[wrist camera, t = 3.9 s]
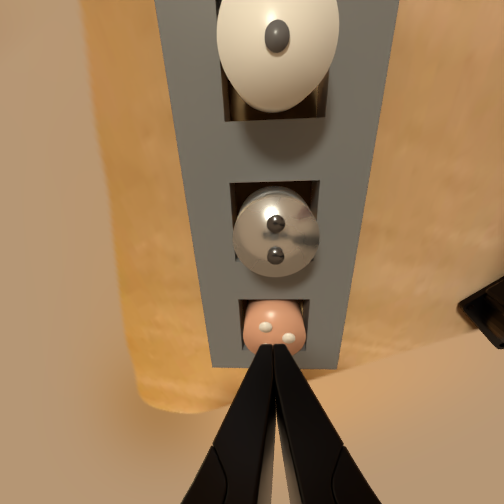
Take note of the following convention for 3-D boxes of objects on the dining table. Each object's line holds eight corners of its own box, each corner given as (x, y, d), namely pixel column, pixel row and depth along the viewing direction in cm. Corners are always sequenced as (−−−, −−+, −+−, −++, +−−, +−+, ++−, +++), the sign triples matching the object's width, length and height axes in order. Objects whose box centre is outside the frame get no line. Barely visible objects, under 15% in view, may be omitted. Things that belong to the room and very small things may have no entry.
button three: (244, 288, 19) (241, 313, 16) (302, 288, 18) (308, 314, 16) (247, 331, 21) (244, 360, 18) (299, 331, 20) (304, 361, 18)
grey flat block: (164, -42, 11) (141, -83, 9) (387, -61, 11) (417, -110, 9) (217, 344, 22) (212, 367, 20) (329, 345, 22) (336, 369, 20)
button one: (223, -2, 10) (209, -48, 8) (326, -10, 10) (348, -60, 8) (230, 115, 12) (221, 109, 10) (318, 111, 12) (332, 104, 9)
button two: (235, 186, 14) (228, 198, 11) (312, 184, 14) (324, 196, 11) (240, 254, 16) (235, 278, 13) (307, 254, 16) (316, 278, 13)
